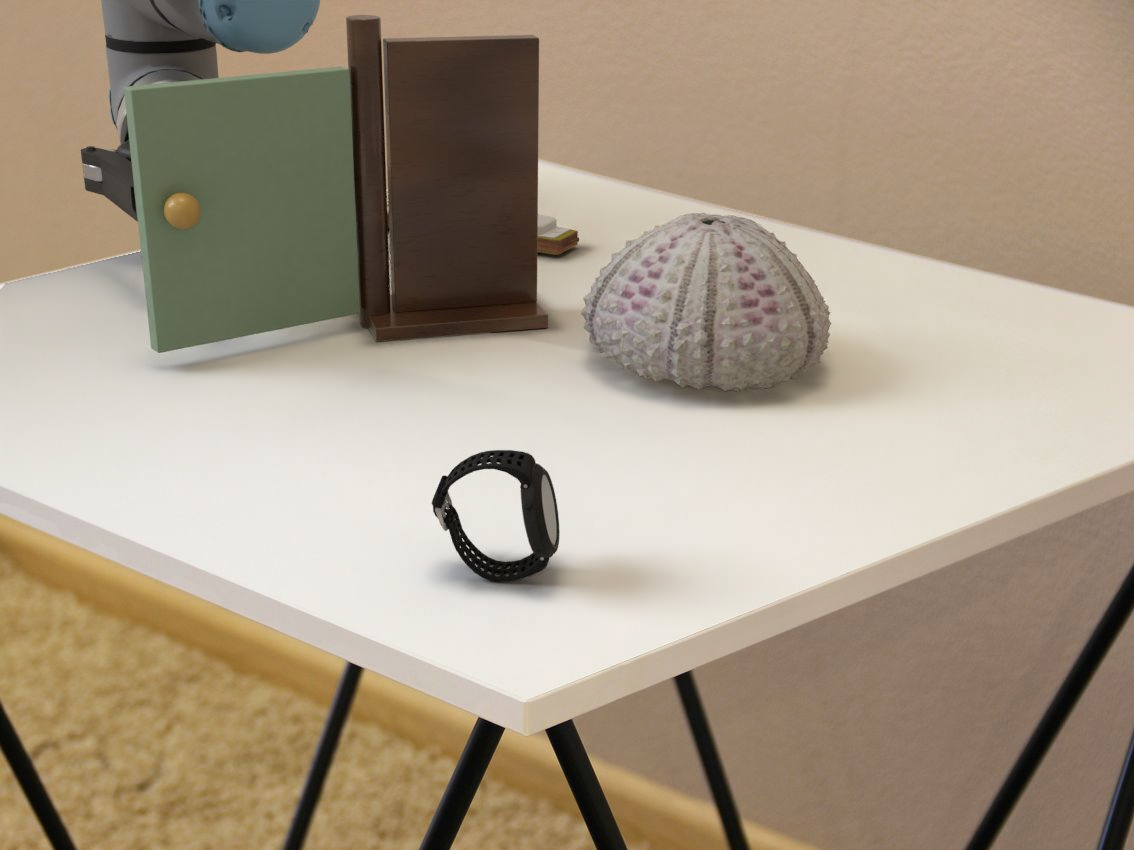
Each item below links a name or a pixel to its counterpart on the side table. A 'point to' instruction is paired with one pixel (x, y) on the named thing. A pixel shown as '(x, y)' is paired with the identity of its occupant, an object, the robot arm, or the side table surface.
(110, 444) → the side table surface
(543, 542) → the smartwatch
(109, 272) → the side table surface
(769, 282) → the sea urchin shell
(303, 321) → the door
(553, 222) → the harmonica
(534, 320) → the door frame
